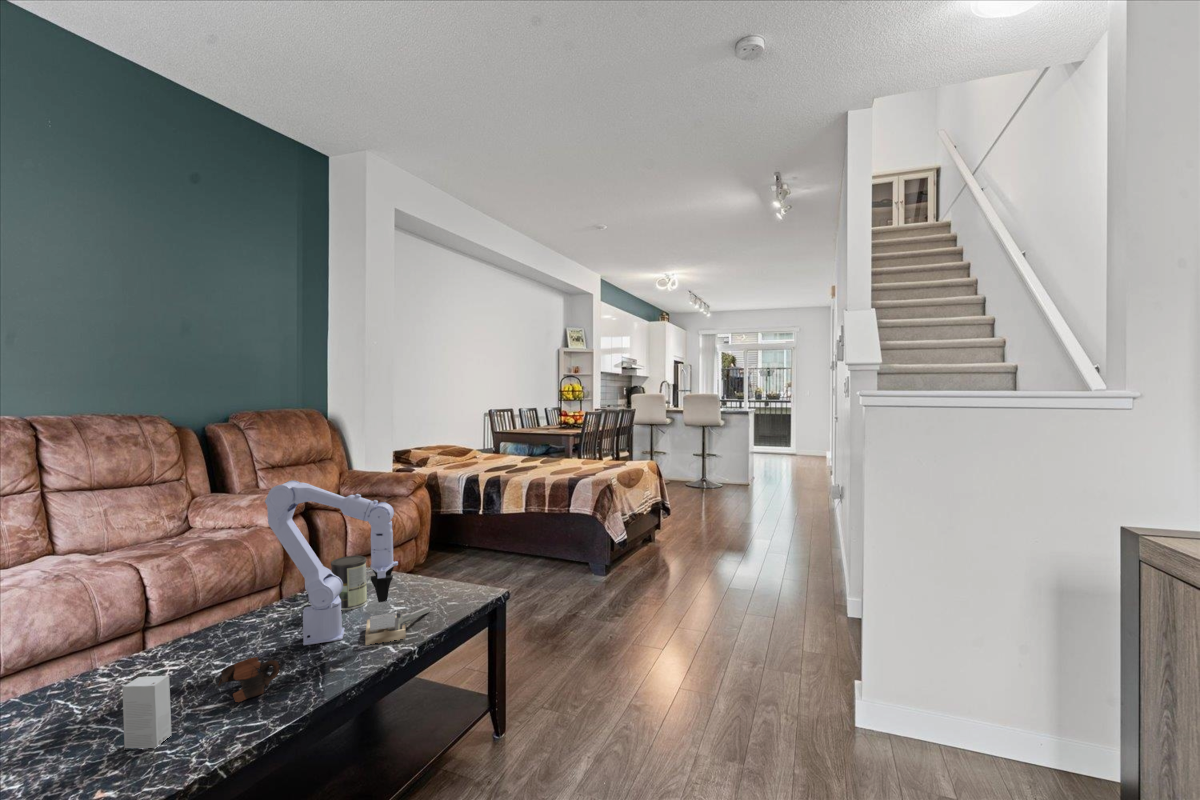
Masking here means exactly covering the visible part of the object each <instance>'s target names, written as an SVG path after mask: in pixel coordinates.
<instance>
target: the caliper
mask: <svg viewBox="0 0 1200 800" xmlns="http://www.w3.org/2000/svg"><path fill="white" fill-rule="evenodd" d="M432 609H433V608H431V606H427V607H423V608H421V609H418V610H416V611H412V612H411V613H410V612H407V613H403V611H402V612H397V613H396V615H397V618H395V630H400V629H402V626H403V625H405V626H406V625H408V624H410V623H411V620H414V619H416V618H419V617H421V616H424V615H426V614H428V613H429V614H430V611H432ZM403 614H404V615H403Z"/></svg>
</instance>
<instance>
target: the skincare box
mask: <svg viewBox="0 0 1200 800" xmlns="http://www.w3.org/2000/svg"><path fill="white" fill-rule="evenodd" d="M170 688H171V687H170V675H154V676H153V675H151V676H150V675H149V676H138V677H137V678H135V679H133V680H132V681H130V682H128V683H126V684H125V685H124V686H122V687H121V690H122V691H121V692H122V715H123V717H122V718H123V738H124V739H123V742H124V743H123V746H124V747H123V748H124V749H125V748H153V747H157V746H158V745H160V744H161V743H162V742H163V741H165V740H166V739H167V738H169V737H170V736H171V737H172V715H171V714H172V713H171V691H170ZM171 737H170V738H171ZM170 738H169V739H170ZM166 741H167V740H166ZM166 741H165V742H166ZM160 746H161V745H160Z"/></svg>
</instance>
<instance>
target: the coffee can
mask: <svg viewBox="0 0 1200 800" xmlns="http://www.w3.org/2000/svg"><path fill="white" fill-rule="evenodd" d="M330 567H331V568H330V570H331V572H332V573H333V574H334V575H336V576H338V577H339V578H340V579H341V580H342V582H343V589H342V592H341V593H340V594H339V597H340V599H341V610H342V611H350V610H351V609H352V610H355V609H359V608H361V607H364V606H366V604H367V603H368V595H367V594H368V593H367V590H368V589H367V557H366V556H362V555H348V556H342V557H338V558H335V559H333V560H331V561H330ZM352 610H351V611H352Z"/></svg>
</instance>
